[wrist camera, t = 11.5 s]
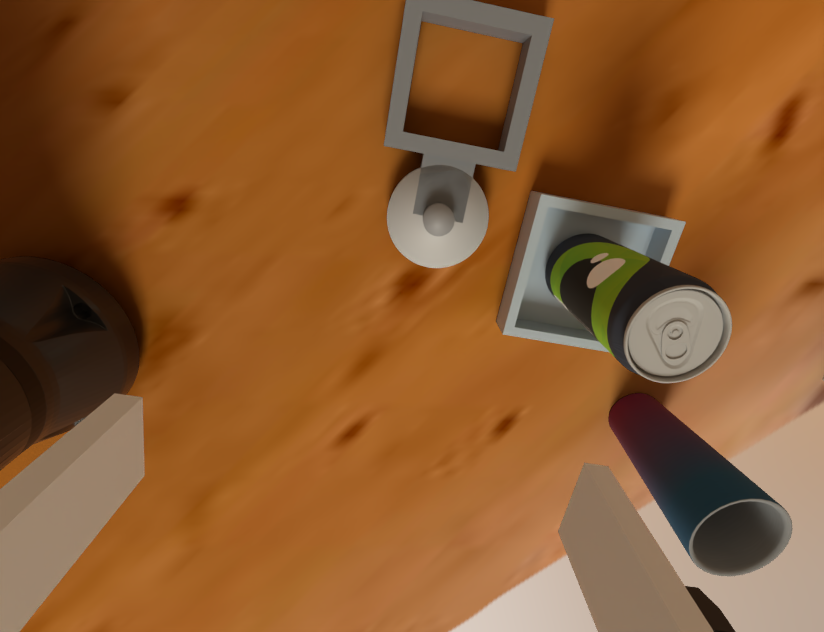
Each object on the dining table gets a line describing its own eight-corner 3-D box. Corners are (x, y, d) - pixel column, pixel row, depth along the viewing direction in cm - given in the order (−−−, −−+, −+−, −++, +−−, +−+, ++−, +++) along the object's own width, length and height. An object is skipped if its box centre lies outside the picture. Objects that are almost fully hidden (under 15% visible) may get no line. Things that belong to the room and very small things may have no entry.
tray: (496, 321, 41) (502, 334, 38) (530, 190, 37) (541, 194, 34) (618, 342, 41) (633, 356, 39) (664, 216, 38) (685, 222, 35)
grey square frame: (369, 251, 38) (366, 260, 35) (408, -3, 32) (408, -18, 29) (483, 271, 39) (490, 281, 36) (543, 28, 33) (557, 15, 30)
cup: (620, 375, 43) (725, 487, 29) (682, 396, 44) (814, 514, 29) (587, 433, 45) (669, 562, 31) (646, 452, 46) (753, 586, 32)
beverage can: (618, 293, 39) (737, 373, 25) (547, 310, 40) (625, 398, 26) (611, 223, 37) (737, 268, 23) (536, 242, 38) (615, 297, 23)
